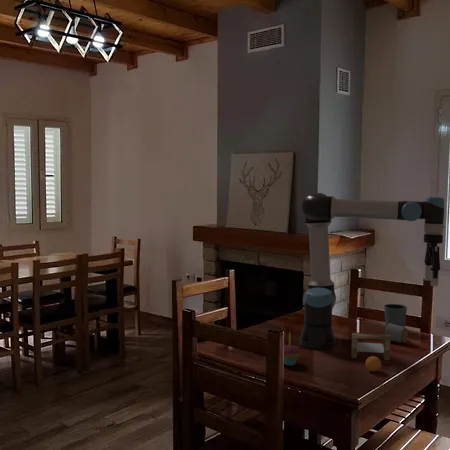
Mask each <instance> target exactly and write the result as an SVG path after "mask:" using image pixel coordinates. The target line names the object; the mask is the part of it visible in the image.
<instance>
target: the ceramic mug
mask: <svg viewBox="0 0 450 450" xmlns="http://www.w3.org/2000/svg"><path fill="white" fill-rule="evenodd" d="M408 334H409V331H408V328H407V327H406V326H405V327H402V326H398V325H395V324H391V323H389V324H388V325H387V326H386V328H385V331H384V335H390V342H392V343H397V344H405V343H406V342H407V339H408V337H409V335H408Z"/></svg>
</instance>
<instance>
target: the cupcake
mask: <svg viewBox="0 0 450 450" xmlns="http://www.w3.org/2000/svg"><path fill="white" fill-rule="evenodd" d="M291 335H292V334H291V331H289V333H288V344H284V345H283V346H284V364H285V365H286V366H289V367H290V366H291V367H292V366H295V365H296V362H297V360H298V358H299V357H300V356H301V354H302V351H301V349H300V348H299V347H298V346H296V345H294V344H291V340H292V339H291V337H292V336H291ZM284 364H283V365H284Z"/></svg>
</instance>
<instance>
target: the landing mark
mask: <svg viewBox="0 0 450 450" xmlns="http://www.w3.org/2000/svg"><path fill="white" fill-rule="evenodd" d="M357 352H358V353H359V352H362V353H375V354H376V353H378V354H384V343H377V342H361V341H357Z"/></svg>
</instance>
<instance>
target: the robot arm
mask: <svg viewBox="0 0 450 450" xmlns="http://www.w3.org/2000/svg"><path fill="white" fill-rule="evenodd" d="M300 206H301V211H302V213H303V215H304V224H305V225H306V226H307V227H308V239H309V242H308V243H309V257H310V258H309V259H310V260H309V261H310V280H309V282H308V283H307V288H308V289H306V291H305V293H304V316H303V317H304V320H303V321H304V324H303V329H302V331H301V335H300V336H299V345H301V346H302V347H305V348H308V349H315V350H326V349H333V348H334V347H336V341H337V340H336V337H335V334H334V330H333V326H332V325H333V309H334V307H335V305H336V302H337V296H336V292H335V282H334V281H333V280H332V279H331V264H330V263H331V260H330V259H331V258H330V240H329V238H330V237H329V226H330V225H331V224H332V220H333V219H335V218H349V219H350V218H352V219H353V218H354V219H374V220H375V219H376V220H392V221H393V220H397V221H408V222H415V221H417V220H424V223H423V224H424V225H423V228H424V229H423V232H424V234H423V242H424V243H426V249H425V255H424V266H425V267H424V281H430V286H431V287H439V273H440V270H441V261H440V260H441V258H440V246H438V244H443V243H444V242H443V241H444V235H443V234H444V229H445V227H446V226H444V222H445V221H444V220H445V219H444V218H445V199H444V197H440V196H437V197H436V196H427V197H425V200H424V201H418V200H417V201H414V200H413V201H412V200H398V201H396V200H395V201H394V200H374V199H373V200H370V199H369V200H368V199H347V198H343V199H342V198H340V199H339V198H335V197H334V196H330V195H329V196H328V195H327V194H324V193H322V192H313V193H309V194H308V195H306V196H305V197H304V199H303V200H302V202H301V205H300Z"/></svg>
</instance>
